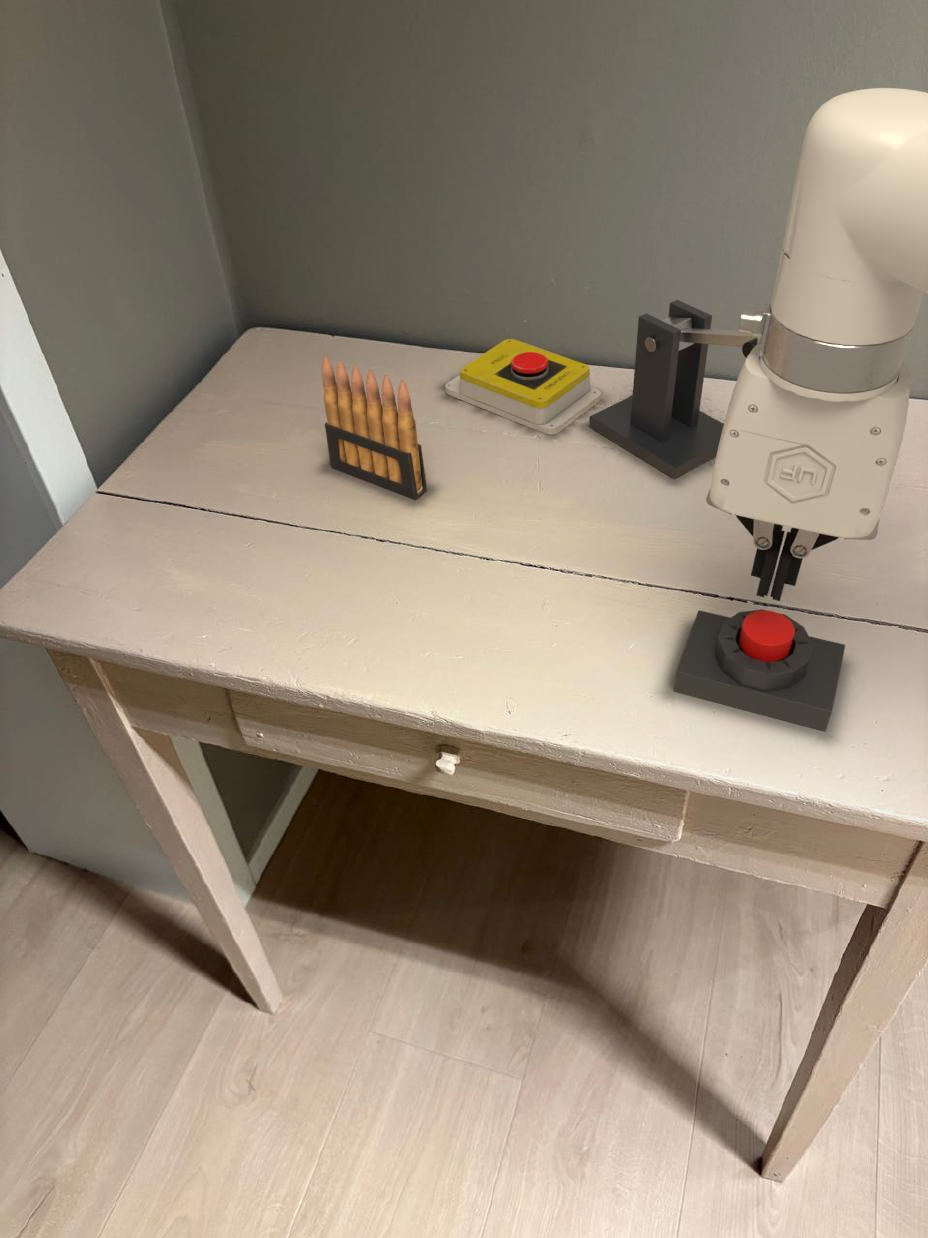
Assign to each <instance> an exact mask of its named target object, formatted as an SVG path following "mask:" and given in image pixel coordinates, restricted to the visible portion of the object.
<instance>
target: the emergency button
mask: <svg viewBox="0 0 928 1238" xmlns="http://www.w3.org/2000/svg"><path fill="white" fill-rule="evenodd" d="M590 371H591V370H590V366H589V364H585V363H583V362H580V361H577V360H574V359H571V358H569V357H566V356H564V355H560V354H557V353H554V352H552V351H549V350H545V349H543V348H540V347H537V346H534V345H531V344H529V343H526V342H523V341H520V340H518V339H513V338H507V339H505V340H502V341H501V342H499V343H498V344H496V345H495V346H493V347H492V348H490V349H489V350H487V351H486V352H484V353H482V354H480V355H479V356H478V357H476V358H475V359H473V360H472V361H470V362H469V363H467V364H466V365H464V366H462V368H460V372H459V373H460V374H458V375H456V377H454V378H452V379H451V380H449V381H448V382H446V383H445V384H444V390H445V394H447V395H448V396H450V397H453V398H456V399H458V400H460V401H462V402H465V403H468V404H471V405H473V406H475V407H477V408H481V409H482V410H485V411H488V412H490V413H492V414H494V415H497V416H500V417H502V418H505V419H507V420H510V421H513V422H514V423H516V424H517V423H518V424H520V425H521V426H525V427H527V428H530V429H532V430H535V431H537V432H539V433H542V434H545V435H550V436H551V435H557V434H559V433H560V432H561V431H563V430H565V428H567V427H568V426H569V425H570V424H572V423H573V422H575V421H576V420H578V418H580V417H581V416H582V415H584V414H585V413H587V412H588V411H589V410H590V409H592V408H593V407H594V406H596V405H597V404H598V403H599V402H601V400H602V392H601V390H600V389H598V388H596V387H594V386H592V385H591V377H590V375H591V372H590Z"/></svg>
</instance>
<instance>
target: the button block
mask: <svg viewBox="0 0 928 1238" xmlns="http://www.w3.org/2000/svg"><path fill="white" fill-rule="evenodd" d="M763 610H764V609H763V608H761V609H752V610H745V611H738V612H737V613H735V614H734V615H732V616H731V617H730V616H725V615H722V614H718V613H713V612H709V611H705V610H701V609H698V611H697V613H696V616H695V618H694V622H693V624H692V627H691V629H690V632H689V635H688V638H687V640H686V644H685V646H684V650H683V652H682V655H681V657H680V660H679V663H678V666H677V667H676V671H675V677H674V685H673V692H675V693H679V694H683V695H687V696H690V697H693V698H699V699H702V700H706V701H709V702H713V703H716V704H721V705H725V706H728V707H731V708H735V709H739V710H744V711H747V712H751V713H754V714H758V715H762V716H766V717H769V718H774V719H776V720H781V721H785V722H788V723H791V724H792V723H793V724H795V725H800V726H804V727H807V728H811V729H815V730H819V731H821V732H826V731H827V728H828V724H829V722H830V719H831V716H832V713H833V708H834V704H835V698H836V693H837V689H838V683H839V679H840V675H841V668H842V665H843V664H842V663H843V658H844V654H845V649H846V644H844V643H840V642H835V641H832V640H828V639H823V638H818V637H815V636H811V635H809V634H808V632H807V630H806V628H805V627H804V625H802V624H801V623H799V622H797V621H796V620H794V619H793V618H791V617H790V616H788V614H785V613H781V614H782V615H783V616H785V617H786V618H788V619H789V620H790V621H791V622H792V624H793V626H794V629H795V633H794V637H793V641H792V645H791V649H790V652H789V654H788V655H787V656H786V657H785V658H783V659H782V660H779V661H775V662H765V661H761V660H757V659H753V658H751V657H749V656H748V655H747V654H745V653H744V651H743V650H742V649H741V647H740V643H739V640H740V635H741V630H742V625H743V621H744V619H745V618H746V617H747V616H748V615H749V614H751V613H753V612H756V611H763Z"/></svg>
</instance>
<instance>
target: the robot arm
mask: <svg viewBox="0 0 928 1238" xmlns="http://www.w3.org/2000/svg"><path fill="white" fill-rule="evenodd" d="M785 225H786V226H785V230H784V234H783V240H782V246H781V251H780V255H779V260H778V264H777V269H776V270H777V272H776V274H775V280H774V286H773V289H772V290H773V291H772V295H771V300H770V303H766V304H765V307H764V308H757V309H756V310H755V309H749V308H744V309H743V310H742V313H741V316H740V321H739V326H738V331H739V333H744V334H750V335H751V337H754V338H758V339H757V345H756V346H755V347H754V348H753V349H752V351H751V353H750V354H749V355H748V357H747V358H746V357H745V360H744V363H743V365H742V366H741V369H740V371H739V373H738V376H737V379H736V382H735V385H734V387H733V390H732V393H731V397H730V399H729V403H728V406H727V410H726V414H725V419H724V422H723V424H724V426H723V429H722V434H721V438H720V442H719V446H718V451H717V455H716V457H715V458H714V459H715V460H714V464H713V469H712V475H711V481H710V487H709V489H708V492H707V495H706V497H705V502H706V504H707V505H708V506H710V507H712V508H714V509H716V510H719V511H721V512H724V513H725V514H728V515H734V516H735V517H736V519H737V520H738V522H740V523H741V524H742V526H743V527H744V528H745V529H746V531H747V532H748V533H749V534H750V535H751V536H752V543H753V545H754V547H755V548H756V551H755V555H754V559H753V563H752V568H751V572H750V577H754V578H756V579H757V578H758V579H759V582H758V587H757V590H756V591H757V592H756V596H757V597H761V598H765V597H768V595H769V597H770V598H771V599H772V600H773V601H777V602H780V601H781V599H782V595H783V592H784V591H783V590H784V588H785V585H787V586H792V587H796V584H797V582H798V577H799V573H800V570H801V566H802V563H803V559H805V558H807V557H809V555H810V553H811V552H812V551H813V550H816V549H818V548H820V547H823V546H825V545H827V544H829V543H832V542H835V541H837V540H838V539H843V540H852V541H853V540H854V541H855V540H858V541H872V540H874V539H876V538H877V536H878V531H879V527H880V517H881V514H882V512H883V509H884V505H885V502H886V500H887V497H888V492H889V489H890V486H891V484H892V480H893V477H894V472H895V468H896V465H897V462H898V457H899V453H900V450H901V446H902V442H903V437H904V433H905V428H906V423H907V419H908V418H907V417H908V410H909V404H910V395H911V394H910V393H911V381H910V380H911V375H910V374H911V373H910V371H909V369H908V367H907V365H906V364H905V363H904V359H905V356H906V353H907V350H908V347H909V344H910V340H911V338H912V335H913V334H912V333H913V331H914V327H915V323H916V320H917V318H918V314H919V311H920V308H921V305H922V302H923V298H924V296H925V294H927V295H928V92H925V91H920V90H916V89H908V88H897V87H873V88H863V89H858V90H852V91H848V92H844V93H840V94H838V95H836V96H834V97H832V98H830V99H829V100H827V101H826V102H824V103H822V104H821V106H820V107H819V108H818V109H817V110H816V111H815V113H814V114H813V115H812V117H811V119H810V120H809V122H808V124H807V127H806V129H805V133H804V137H803V141H802V145H801V149H800V153H799V159H798V165H797V169H796V175H795V179H794V185H793V190H792V195H791V200H790V204H789V210H788V214H787V220H786V224H785ZM783 527H788V528H790V531H787V532H786V535H785V530H783ZM784 537H785V538H784ZM783 540H784V541H783ZM782 544H783V545H782ZM781 548H782V549H781ZM780 551H781V552H780ZM779 555H780V556H779ZM773 578H774V579H773ZM771 585H772V586H771ZM770 589H771V591H770ZM769 591H770V592H769ZM769 593H770V594H769Z"/></svg>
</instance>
